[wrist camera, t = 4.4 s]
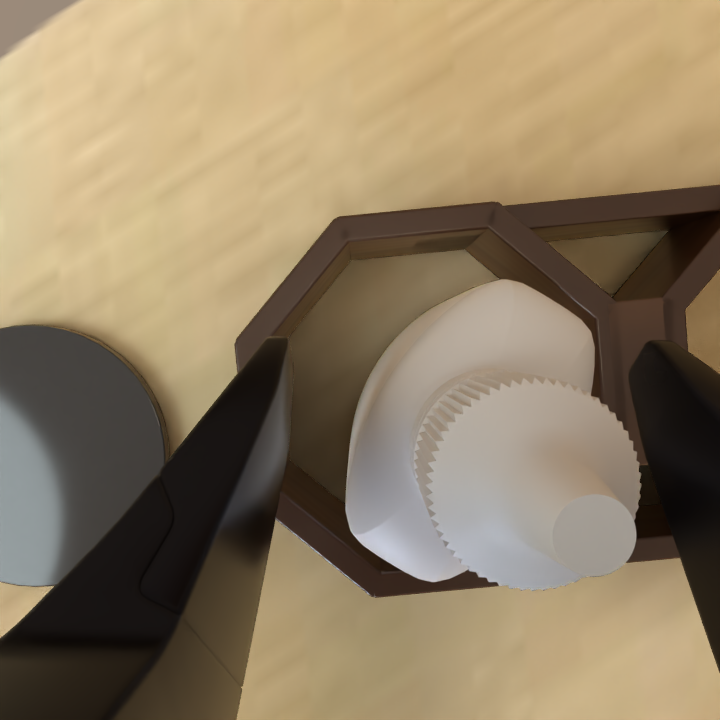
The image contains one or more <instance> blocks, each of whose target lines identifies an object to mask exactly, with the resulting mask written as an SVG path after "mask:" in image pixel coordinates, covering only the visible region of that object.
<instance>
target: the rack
mask: <svg viewBox="0 0 720 720" xmlns="http://www.w3.org/2000/svg"><path fill="white" fill-rule="evenodd" d="M660 230H669V231H668V232H667V234H666V235H665V236H664V237H663V238H662V240H661V241H660V242H659V243H658V244H657V246H656V247H655V248H654V249H653V250H652V252H651V253H650V254H649V255H648V256H647V257H646V259H645V260H644V261H643V262H642V263H641V265H640V266H639V267H638V268H637V269H636V271H635V272H634V273H633V274H632V275H631V276H630V278H629V279H628V280H627V281H626V282H625V284H624V285H623V286H622V287H621V288H620V290H619V291H618V292H617V293H616V294H615V296H614V297H613V298H612V297H610V296H609V295H608V294H607V293H606V292H605V291H603V290H602V289H601V288H600V287H599V286H597V285H596V284H595V283H594V282H593V281H591V280H590V279H589V278H588V277H587V276H586V275H584V274H583V273H582V272H581V271H580V270H578V269H577V268H576V267H575V266H574V265H572V264H571V263H570V262H569V261H568V260H566V259H565V258H564V257H563V256H562V255H561V254H559V253H558V252H557V251H556V250H555V249H553V248H552V247H551V246H550V245H549V244H547V243H546V241H556V240H567V239H577V238H588V237H598V236H608V235H619V234H629V233H639V232H650V231H660ZM463 249H465V250H466V251H468V252H469V253H470V254H471V255H472V256H474V257H475V258H476V259H477V260H478V261H480V262H481V263H482V264H483V265H484V266H486V267H487V268H488V269H489V270H490V271H492V272H493V273H494V274H495V275H496V276H497V277H499V278H500V279H508V280H512V281H516V282H520V283H523V284H525V285H527V286H529V287H531V288H533V289H535V290H536V291H538V292H540V293H542V294H543V295H545V296H547V297H548V298H550V299H552V300H553V301H555V302H556V303H558V304H560V305H561V306H563V307H564V308H566V309H567V310H569V311H570V312H572V313H573V314H574V315H576V316H577V317H578V318H580V319H581V320H582V321H583V322H584V324H585V325H586V326H587V327H588V329H589V330H590V331H591V333H592V337H593V342H594V346H595V367H594V376H593V385H592V390H591V396H593V397H597V398H599V400H600V403H601V404H605V405H607V406H608V409H609V411H610V412H613V413H615V414H616V418H617V420H618V421H621V422H622V424H623V430H626V431H628V435H629V440H631V441H633V450H634V451H636V452H637V459H636V461H638V462H639V463H640V464H639V466H640V465H647V466H648V463H647V460H646V457H645V453H644V450H643V446H642V442H641V438H640V433H639V429H638V424H637V419H636V415H635V410H634V405H633V401H632V396H631V391H630V387H629V382H628V373H629V370H630V367H631V366H632V364H633V362H634V361H635V359H636V357H637V356H638V354H639V352H640V351H641V349H642V348H643V346H644V344H645V343H647V342H648V341H650V340H670V341H673V342H675V343H677V344H678V345H680V346H681V347H682V348H684V349H685V350H687V351H688V343H687V329H686V315H685V309H686V308H687V307H688V306H689V304H690V303H691V302H692V301H693V300H694V298H695V297H696V296H697V295H698V294H699V293H700V291H701V290H702V289H703V288H704V287H705V285H706V284H707V283H708V282H709V281H710V280H711V278H712V277H713V276H714V275H715V274H716V272H717V271H718V270H719V269H720V185H713V186H702V187H692V188H682V189H672V190H661V191H651V192H641V193H630V194H620V195H610V196H599V197H589V198H579V199H568V200H558V201H548V202H538V203H527V204H517V205H507V206H502V205H501V204H500V203H499V202H483V203H473V204H463V205H452V206H442V207H432V208H421V209H411V210H401V211H390V212H380V213H370V214H360V215H349V216H339V217H337V219H336V218H335V219H334V220H333V221H332V222H331V223H330V224H329V226H328V227H327V228H326V229H325V231H324V232H323V233H322V234H321V235H320V237H319V238H318V239H317V240H316V242H315V243H314V244H313V245H312V247H311V248H310V249H309V250H308V251H307V253H306V254H305V255H304V256H303V258H302V259H301V260H300V261H299V262H298V264H297V265H296V266H295V267H294V269H293V270H292V271H291V272H290V274H289V275H288V276H287V277H286V278H285V280H284V281H283V282H282V283H281V285H280V286H279V287H278V288H277V289H276V291H275V292H274V293H273V294H272V296H271V297H270V298H269V299H268V301H267V302H266V303H265V304H264V305H263V307H262V308H261V309H260V310H259V312H258V313H257V314H256V315H255V316H254V318H253V319H252V320H251V321H250V323H249V324H248V325H247V326H246V328H245V329H244V330H243V331H242V332H241V334H240V335H239V336H238V337H237V339H236V342H235V354H236V364H237V373H238V372H239V371H240V370H241V368H242V367H243V366H244V365H245V364H246V362H247V361H248V360H249V359H250V357H251V356H252V355H253V354H254V352H255V351H256V350H257V349H258V347H259V346H260V345H261V344H262V342H263V341H264V340H265V339H266V338H267V337H270V336H275V337H289V336H290V334H291V333H292V332H293V331H294V329H295V328H296V327H297V326H298V325H299V323H300V322H301V321H302V320H303V318H304V317H305V316H306V315H307V314H308V312H309V311H310V310H311V309H312V307H313V306H314V305H315V304H316V303H317V301H318V300H319V299H320V298H321V296H322V295H323V294H324V293H325V292H326V290H327V289H328V288H329V287H330V285H331V284H332V283H333V282H334V281H335V279H336V278H337V277H338V276H339V274H340V273H341V272H342V271H343V270H344V268H345V267H346V266H347V265H348V263H349V262H350V261H351V260H358V259H369V258H379V257H389V256H400V255H412V254H422V253H432V252H443V251H453V250H463ZM648 467H649V466H648ZM345 507H346V505H345V504H343V503H342V502H341V501H340V500H338V499H337V498H336V497H335V496H334V495H332V494H331V493H330V492H329V491H327V490H326V489H325V488H324V487H322V486H321V485H320V484H319V483H318V482H316V481H315V480H314V479H313V478H311V477H310V476H309V475H308V474H306V473H305V472H304V471H303V470H302V469H300V468H299V467H298V466H297V465H295V464H294V463H293V462H292V461H291V460H290V451H289V450H288V456H287V462H286V467H285V472H284V477H283V482H282V488H281V493H280V498H279V503H278V508H277V513H276V518H275V519H276V520H277V521H278V522H280V523H281V524H282V525H283V526H285V527H286V528H287V529H288V530H290V531H291V532H292V533H293V534H294V535H296V536H297V537H298V538H299V539H301V540H302V541H303V542H304V543H306V544H307V545H308V546H309V547H311V548H312V549H313V550H314V551H315V552H317V553H318V554H319V555H320V556H322V557H323V558H324V559H325V560H327V561H328V562H329V563H330V564H331V565H333V566H334V567H335V568H336V569H338V570H339V571H340V572H341V573H343V574H344V575H345V576H346V577H348V578H349V579H350V580H351V581H352V582H354V583H355V584H356V585H357V586H359V587H360V588H361V589H362V590H364V591H365V592H366V593H367V594H369V595H370V596H371V597H375V598H377V597H388V596H398V595H409V594H420V593H430V592H441V591H451V590H462V589H473V588H483V587H494V586H499V585H498V583H497V582H488V580H487V578H485V577H478V575H477V573H476V572H472V571H469V569H468V570H466V571H465V572H463V573H461V574H458V575H456V576H454V577H452V578H450V579H446V580H442V581H437V582H430V581H425V580H421V579H418V578H416V577H414V576H412V575H410V574H408V573H406V572H404V571H402V570H400V569H399V568H397V567H395V566H394V565H392V564H390V563H389V562H387V561H385V560H384V559H382V558H381V557H379V556H377V555H376V554H374V553H373V552H372V551H370V550H369V549H367V548H366V547H365V546H363V545H362V544H361V543H360V542H359V541H358V540H357V538H356V537H355V536H354V535H353V534H352V533H351V531H350V528H349V524H348V520H347V515H346V511H345ZM635 516H636V518H635V520H634V523H635V527H636V543H635V547H634V550H633V552H632V554H631V556H630V558H629V559H628V560H627V562H626V563H631V562H641V561H652V560H663V559H673V558H680V556H679V553H678V550H677V547H676V544H675V542H674V539H673V536H672V533H671V530H670V527H669V524H668V521H667V518H666V515H665V512H664V510H663V507H662V504H659V505H648V506H639V508H638V510H637V511H636V513H635Z"/></svg>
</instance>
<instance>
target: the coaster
mask: <svg viewBox="0 0 720 720" xmlns="http://www.w3.org/2000/svg"><path fill="white" fill-rule="evenodd" d="M168 459H169V443H168V436H167V431H166V426H165V422H164V419H163V416H162V413H161V410H160V407H159V405H158V403H157V401H156V399H155V397H154V395H153V393H152V391H151V390H150V388H149V387H148V385H147V384H146V382H145V381H144V379H143V378H142V376H141V375H140V374H139V373H138V372H137V371H136V370H135V368H134V367H133V366H132V365H131V364H130V363H129V362H128V361H127V360H125V359H124V358H123V357H122V356H121V355H120V354H119V353H117V352H116V351H114V350H113V349H111V348H110V347H108V346H107V345H105V344H104V343H102V342H100V341H98V340H96V339H94V338H92V337H90V336H88V335H85V334H82V333H79V332H76V331H74V330H70V329H65V328H60V327H55V326H43V325H20V326H11V327H6V328H1V329H0V582H3V583H8V584H13V585H18V586H31V587H40V586H54V585H56V584H57V583H58V582H59V581H60V580H61V579H62V578H63V577H64V576H65V575H66V574H67V573H68V572H69V571H70V570H71V569H72V568H73V567H74V566H75V565H76V564H77V563H78V562H79V561H80V560H81V559H82V558H83V557H84V556H85V555H86V554H87V553H88V552H89V550H90V549H91V548H92V547H93V546H94V545H95V544H96V543H97V542H98V541H99V540H100V539H101V538H102V537H103V536H104V535H105V534H106V533H107V531H108V530H109V529H110V528H111V527H112V526H113V525H114V524H115V523H116V522H117V521H118V520H119V519H120V517H121V516H122V515H123V514H124V513H125V512H126V510H127V509H128V508H129V507H130V506H131V505H132V503H133V502H134V501H135V500H136V499H137V497H138V496H139V495H140V494H141V493H142V491H143V490H144V489H145V488H146V487H147V485H148V484H149V483H150V481H151V480H152V479H153V478H154V476H156V475H159V471H160V469H161V468H162V467H163V466H164V464H165V463H166V462H167V461H168Z"/></svg>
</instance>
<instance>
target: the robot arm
mask: <svg viewBox="0 0 720 720" xmlns="http://www.w3.org/2000/svg"><path fill="white" fill-rule="evenodd" d="M293 382H294V366H293V358H292V351H291V343H290V340H289V338H288V337H275V336H270V337H267V338H266V339H265V340H264V341H263V342H262V344H261V345H260V346H259V347H258V349H257V350H256V351H255V352H254V354H253V355H252V356H251V357H250V359H249V360H248V361H247V362H246V364H245V365H244V366H243V367H242V368H241V370H240V371H239V372H238V373H237V375H236V376H235V377H234V378H233V380H232V381H231V382H230V383H229V385H228V386H227V387H226V388H225V390H224V391H223V392H222V393H221V395H220V396H219V397H218V398H217V400H216V401H215V402H214V403H213V405H212V406H211V407H210V408H209V410H208V411H207V412H206V413H205V415H204V416H203V417H202V418H201V420H200V421H199V422H198V423H197V425H196V426H195V427H194V428H193V430H192V431H191V432H190V433H189V434H188V436H187V437H186V438H185V439H184V441H183V442H182V443H181V444H180V446H179V447H178V448H177V449H176V451H175V452H174V453H173V454H172V456H171V457H170V458H169V459H168V461H167V462H166V463H165V464H164V466H163V467H162V468H161V469H160V471H159V475H156V476H154V478H153V479H152V480H151V481H150V483H149V484H148V485H147V487H146V488H145V489H144V490H143V491H142V493H141V494H140V495H139V496H138V497H137V499H136V500H135V501H134V502H133V503H132V505H131V506H130V507H129V508H128V509H127V510H126V512H125V513H124V514H123V515H122V516H121V517H120V519H119V520H118V521H117V522H116V523H115V524H114V525H113V526H112V527H111V528H110V529H109V530H108V531H107V533H106V534H105V535H104V536H103V537H102V538H101V539H100V540H99V541H98V542H97V543H96V544H95V545H94V546H93V547H92V548H91V549H90V550H89V552H88V553H87V554H86V555H85V556H84V557H83V558H82V559H81V560H80V561H79V562H78V563H77V564H76V565H75V566H74V567H73V568H72V569H71V570H70V571H69V572H68V573H67V574H66V575H65V576H64V577H63V578H62V579H61V580H60V581H59V582H58V583H57V584H56V585H55V586H54V587H53V588H52V589H51V590H50V591H49V592H48V593H47V594H46V596H45V597H44V598H43V599H42V600H41V601H40V602H39V603H38V604H37V605H36V606H35V607H34V608H33V609H32V610H31V611H30V612H29V613H28V614H27V615H26V616H25V617H24V618H23V619H22V620H21V621H20V622H19V623H18V624H16V625H15V626H14V627H13V628H12V629H11V630H10V631H8V632H7V633H6V634H5V635H4V636H2V637H1V638H0V720H236V719H237V714H238V709H239V704H240V699H241V693H242V688H241V687H242V686H243V683H244V677H245V672H246V667H247V662H248V657H249V652H250V647H251V641H252V636H253V631H254V626H255V621H256V616H257V611H258V606H259V600H260V595H261V590H262V585H263V580H264V575H265V570H266V565H267V559H268V554H269V549H270V544H271V539H272V534H273V529H274V523H275V518H276V513H277V508H278V503H279V498H280V493H281V488H282V482H283V477H284V472H285V467H286V462H287V456H288V450H289V441H290V429H291V413H292V398H293ZM628 382H629V387H630V391H631V396H632V401H633V405H634V410H635V415H636V419H637V424H638V429H639V433H640V438H641V442H642V446H643V450H644V453H645V457H646V460H647V463H648V466H649V469H650V472H651V475H652V478H653V480H654V483H655V486H656V489H657V492H658V495H659V498H660V501H661V504H662V507H663V510H664V512H665V515H666V518H667V521H668V524H669V527H670V530H671V533H672V536H673V539H674V542H675V544H676V547H677V550H678V553H679V556H680V559H681V562H682V565H683V568H684V571H685V574H686V576H687V579H688V582H689V585H690V588H691V591H692V594H693V597H694V600H695V603H696V606H697V608H698V611H699V614H700V617H701V620H702V623H703V626H704V629H705V632H706V635H707V638H708V640H709V643H710V646H711V649H712V652H713V655H714V658H715V661H716V664H717V667H718V670H719V672H720V374H719V373H717V372H716V371H714V370H713V369H712V368H710V367H709V366H707V365H706V364H705V363H703V362H702V361H701V360H699V359H698V358H696V357H695V356H694V355H692V354H691V353H689V352H688V351H687V350H685V349H684V348H682V347H681V346H680V345H678V344H677V343H675V342H673V341H670V340H650V341H648V342H647V343H645V344H644V346H643V348H642V349H641V351H640V352H639V354H638V356H637V357H636V359H635V361H634V362H633V364H632V366H631V367H630V370H629V373H628Z"/></svg>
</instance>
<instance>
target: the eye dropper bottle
mask: <svg viewBox="0 0 720 720" xmlns="http://www.w3.org/2000/svg"><path fill="white" fill-rule="evenodd" d="M594 367H595V346H594V342H593V337H592V333H591V331H590V330H589V329H588V327H587V326H586V325H585V324H584V322H583V321H582V320H581V319H580V318H578V317H577V316H576V315H574V314H573V313H572V312H570V311H569V310H567V309H566V308H564V307H563V306H561V305H560V304H558V303H556V302H555V301H553V300H552V299H550V298H548V297H547V296H545V295H543V294H542V293H540V292H538V291H536V290H535V289H533V288H531V287H529V286H527V285H525V284H523V283H520V282H516V281H512V280H508V279H501V280H497V281H493V282H489V283H485V284H483V285H480V286H477V287H474V288H472V289H470V290H468V291H465V292H463V293H461V294H459V295H457V296H454V297H452V298H450V299H448V300H446V301H444V302H442V303H440V304H438V305H436V306H434V307H432V308H431V309H429V310H427V311H426V312H424V313H423V314H422V315H420V316H419V317H418V318H416V319H415V320H414V321H413V322H412V323H410V324H409V325H408V326H407V327H406V328H405V329H404V330H403V331H402V332H401V333H400V334H399V335H398V336H397V337H396V338H395V339H394V340H393V341H392V343H391V344H390V345H389V346H388V347H387V349H386V350H385V351H384V353H383V354H382V355H381V357H380V358H379V360H378V361H377V363H376V365H375V366H374V368H373V370H372V372H371V373H370V375H369V377H368V379H367V381H366V384H365V386H364V388H363V391H362V393H361V396H360V399H359V401H358V405H357V408H356V412H355V416H354V420H353V425H352V431H351V440H350V449H349V460H348V471H347V484H346V507H345V511H346V515H347V520H348V524H349V528H350V531H351V533H352V534H353V535H354V536H355V537H356V538H357V540H358V541H359V542H360V543H361V544H362V545H363V546H365V547H366V548H367V549H369V550H370V551H372V552H373V553H374V554H376V555H377V556H379V557H381V558H382V559H384V560H385V561H387V562H389V563H390V564H392V565H394V566H395V567H397V568H399V569H400V570H402V571H404V572H406V573H408V574H410V575H412V576H414V577H416V578H418V579H421V580H425V581H430V582H437V581H442V580H446V579H450V578H452V577H454V576H456V575H458V574H461V573H463V572H465V571H466V570H468V569H469V571H472V572H476V573H477V575H478V577H485V578H487V580H488V582H497V583H498V585H499V586H505V585H508V587H509V588H510V589H513V588H518V587H519V588H520V590H521V591H522V590H526V589H530V590H531V591H534V590H537V589H542V590H543V591H544V590H546V589H548V588H553V589H555V588H557V587H559V586H561V585H563V586H566V585H568V584H569V583H571V582H577V581H578V580H579V579H580V578H583V577H587V576H589V577H599V576H604V575H608V574H610V573H612V572H614V571H616V570H618V569H619V568H620V567H622V566H623V565H624V564H625V563H626V562H627V560H628V559H629V558H630V556H631V554H632V552H633V550H634V547H635V543H636V527H635V523H634V520H635V518H636V516H635V513H636V511H637V510H638V508H639V506H638V502H639V499H640V497H641V496H640V493H639V491H640V488H641V483H640V482H639V481H640V477H641V473H640V472H639V464H640V463H639V462H638V461H636V459H637V452H636V451H634V450H633V441H631V440H629V435H628V431H626V430H623V424H622V422H621V421H618V420H617V418H616V414H615V413H613V412H610V411H609V409H608V406H607V405H605V404H601V403H600V400H599V398H597V397H593V396H591V390H592V385H593V376H594Z"/></svg>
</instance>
